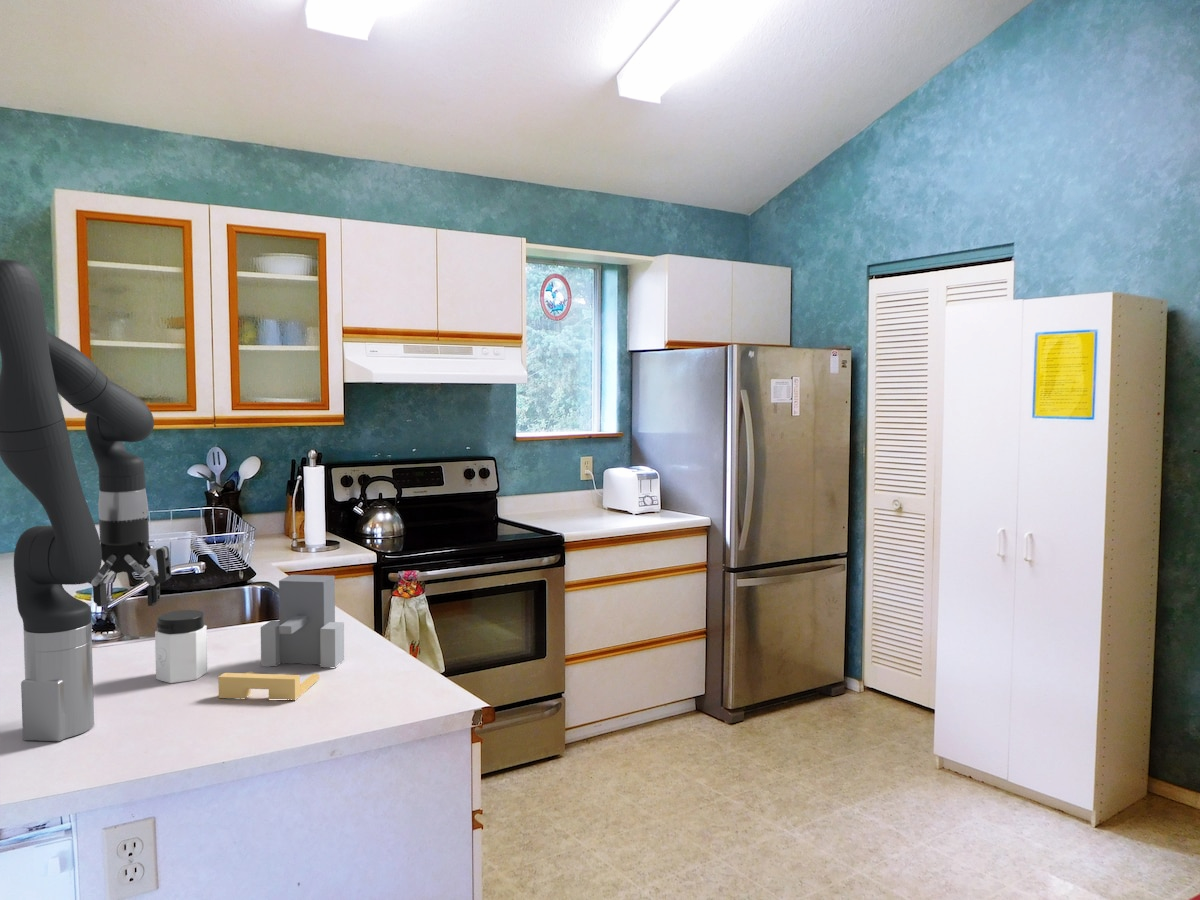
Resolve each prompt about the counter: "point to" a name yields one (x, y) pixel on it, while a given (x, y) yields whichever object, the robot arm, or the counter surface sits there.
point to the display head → (304, 624)
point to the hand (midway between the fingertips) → (127, 605)
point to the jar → (181, 646)
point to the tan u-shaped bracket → (263, 685)
